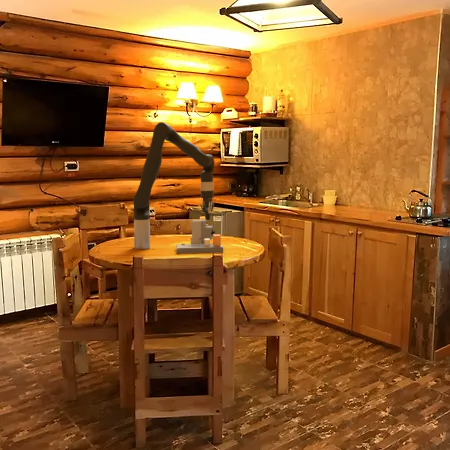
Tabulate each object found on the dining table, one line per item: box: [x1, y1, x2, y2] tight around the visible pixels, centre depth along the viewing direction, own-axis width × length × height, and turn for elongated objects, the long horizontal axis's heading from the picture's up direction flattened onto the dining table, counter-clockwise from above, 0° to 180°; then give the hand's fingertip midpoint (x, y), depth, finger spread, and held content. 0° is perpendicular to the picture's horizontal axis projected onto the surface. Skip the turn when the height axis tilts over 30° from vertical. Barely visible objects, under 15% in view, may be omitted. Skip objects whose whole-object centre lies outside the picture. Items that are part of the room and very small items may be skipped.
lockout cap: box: [212, 234, 222, 246], centre depth 295 cm, size 4×4×6 cm
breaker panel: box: [176, 242, 224, 254], centre depth 294 cm, size 26×12×4 cm, turn 97°
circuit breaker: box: [189, 219, 216, 244], centre depth 314 cm, size 8×14×15 cm, turn 78°
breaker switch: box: [204, 238, 211, 246], centre depth 295 cm, size 3×4×4 cm
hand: (208, 219), depth 294 cm, fingers closed
